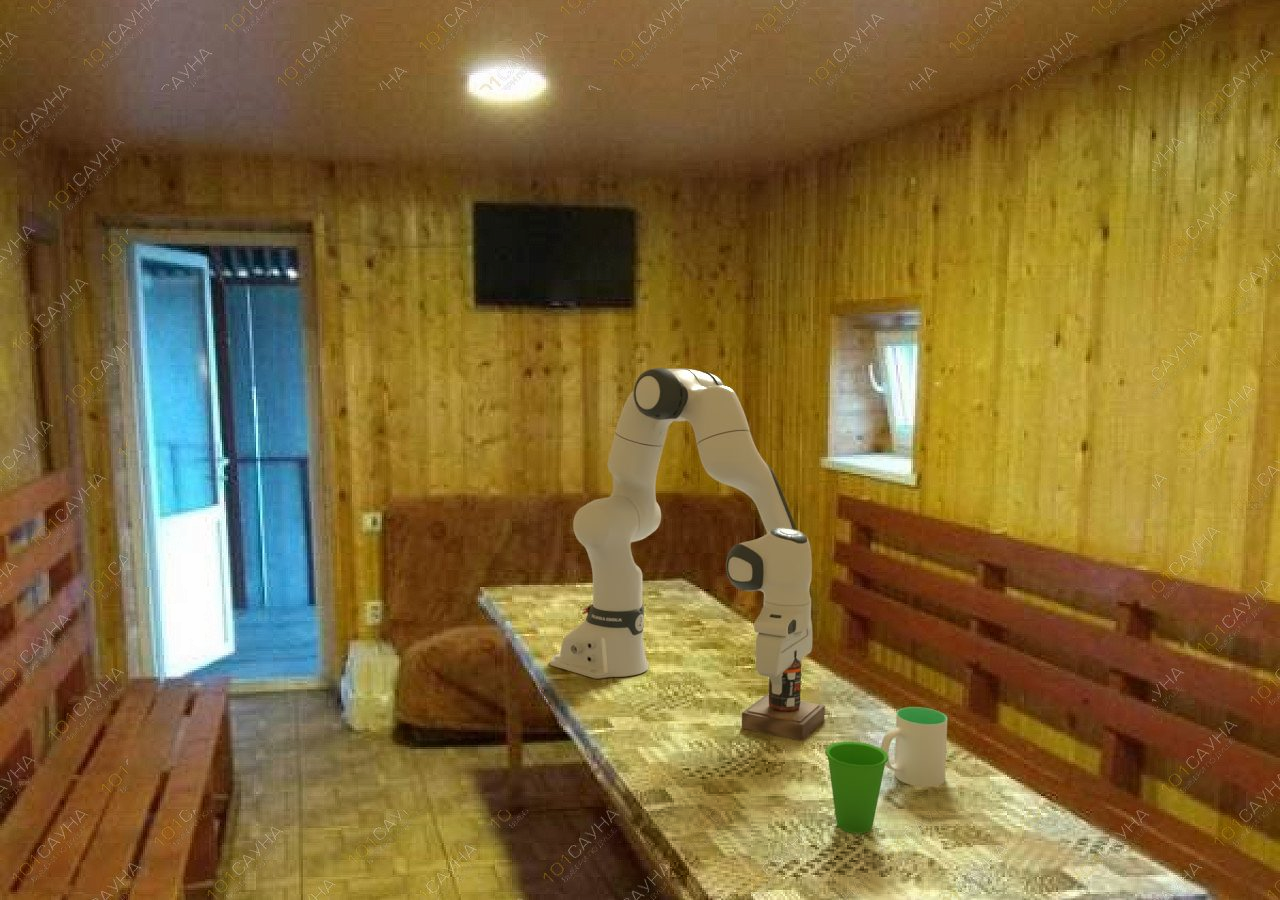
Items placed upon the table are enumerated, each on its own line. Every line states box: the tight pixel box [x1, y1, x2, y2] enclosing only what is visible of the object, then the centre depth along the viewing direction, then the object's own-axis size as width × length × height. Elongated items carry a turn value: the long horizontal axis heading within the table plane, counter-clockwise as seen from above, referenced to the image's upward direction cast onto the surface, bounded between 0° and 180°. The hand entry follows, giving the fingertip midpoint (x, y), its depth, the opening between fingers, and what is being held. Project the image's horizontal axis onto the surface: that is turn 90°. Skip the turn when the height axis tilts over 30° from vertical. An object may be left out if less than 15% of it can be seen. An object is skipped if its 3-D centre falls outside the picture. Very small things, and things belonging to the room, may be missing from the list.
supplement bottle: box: [768, 650, 802, 711], centre depth 180 cm, size 6×6×11 cm
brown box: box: [741, 694, 826, 742], centre depth 181 cm, size 12×12×3 cm
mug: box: [880, 706, 948, 788], centre depth 156 cm, size 12×8×10 cm, turn 120°
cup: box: [824, 741, 889, 834], centre depth 140 cm, size 9×9×11 cm
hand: (785, 687), depth 180 cm, fingers open, 6 cm apart
